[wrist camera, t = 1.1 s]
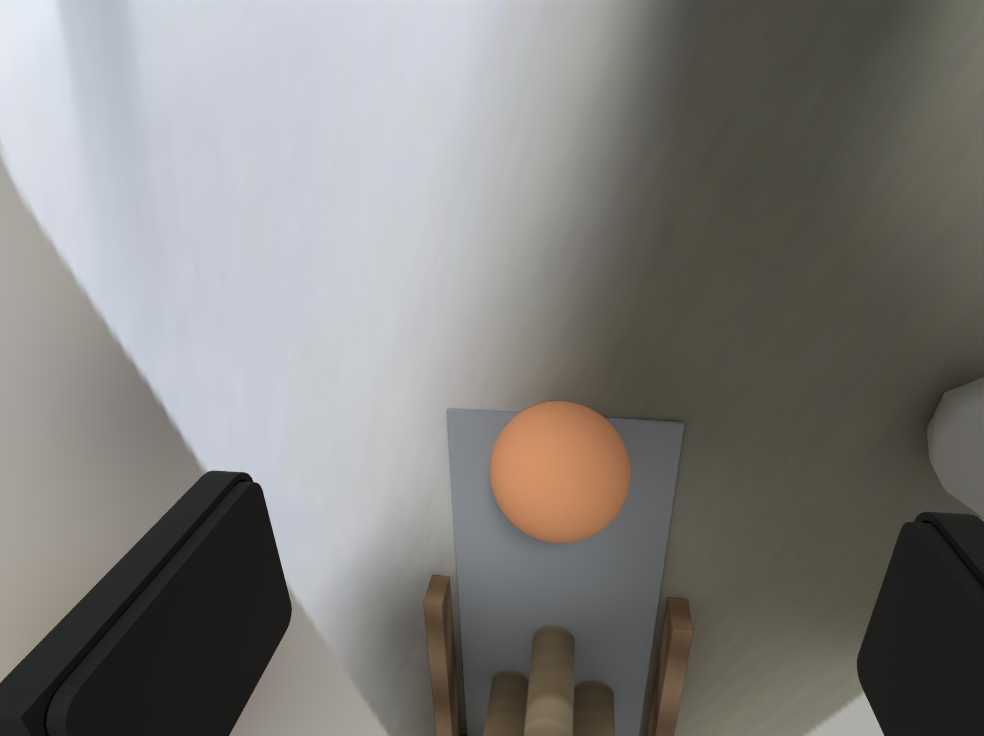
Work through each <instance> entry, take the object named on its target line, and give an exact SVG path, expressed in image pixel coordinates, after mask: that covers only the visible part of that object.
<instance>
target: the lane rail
mask: <svg viewBox="0 0 984 736" xmlns="http://www.w3.org/2000/svg"><path fill="white" fill-rule="evenodd" d="M423 604H424V614H425V624H426V634H427V644H428V654H429V664H430V674H431V684H432V694H433V703H434V713H435V723H436V733H437V736H467V735H461V733H460V719H459V705H458V691H457V677H456V663H455V649H454V635H453V621H452V607H451V593H450V579H449V577H447V576H437V575H432V577H431V580H430V583H429V587H428V590H427V593H426V596H425V599H424V603H423ZM692 636H693V626H692V621H691V616H690V611H689V606H688V600H686V599H676V598H668V601H667V608H666V614H665V621H664V627H663V634H662V640H661V646H660V653H659V659H658V666H657V672H656V679H655V685H654V691H653V698H652V704H651V711H650V717H649V724H648V730H647V736H674V731H675V726H676V721H677V715H678V710H679V705H680V700H681V694H682V689H683V684H684V678H685V673H686V668H687V662H688V657H689V652H690V647H691V641H692Z"/></svg>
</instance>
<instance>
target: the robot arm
mask: <svg viewBox="0 0 984 736" xmlns="http://www.w3.org/2000/svg"><path fill="white" fill-rule="evenodd" d="M291 612H292V607H291V601H290V598H289V593H288V589H287V585H286V581H285V578H284V574H283V570H282V566H281V562H280V558H279V554H278V550H277V546H276V542H275V538H274V534H273V530H272V526H271V522H270V518H269V514H268V510H267V506H266V502H265V498H264V495H263V491H262V488H261V486H260V485H259V484H258V483H255V482H253V480H252V477H251V476H250V475H249V474H247V473H244V472H228V471H209V472H207V473H206V474H204V475H203V476H202V477H201V478H200V479H199V480H198V481H197V482H196V483H195V484H194V485H193V486H192V487H191V488H190V489H189V490H188V491H187V492H186V493H185V494H184V495H183V496H182V497H181V499H179V500H178V501H177V503H176V504H175V505H174V506H173V507H172V508H171V509H170V510H169V511H168V512H167V513H166V514H165V515H164V516H163V517H162V518H161V519H160V520H159V521H158V522H157V523H156V524H155V525H154V526H153V527H152V528H151V529H150V530H149V531H148V532H147V533H146V534H145V535H144V536H143V537H142V538H141V539H140V541H138V542H137V543H136V544H135V545H134V547H133V548H132V549H131V550H130V551H129V552H128V553H127V554H126V555H125V556H124V557H123V558H122V559H121V560H120V561H119V562H118V563H117V564H116V565H115V566H114V567H113V568H112V569H111V570H110V571H109V572H108V573H107V574H106V575H105V576H104V577H103V578H102V579H101V580H100V581H99V582H98V583H97V584H96V585H95V586H94V587H93V589H91V591H90V592H89V593H88V594H87V595H86V596H85V597H84V598H83V599H82V600H81V601H80V602H79V603H78V604H77V605H76V606H75V607H74V608H73V609H72V610H71V611H70V612H69V613H68V614H67V615H66V616H65V617H64V618H63V619H62V620H61V621H60V622H59V623H58V624H57V626H55V627H54V628H53V629H52V631H50V632H49V634H48V635H47V636H46V637H45V638H44V639H43V640H42V641H41V642H40V643H39V644H38V645H37V646H36V647H35V648H34V649H33V650H32V651H31V652H30V653H29V654H28V655H27V656H26V657H25V658H24V659H23V660H22V661H21V662H20V663H19V664H18V665H17V666H16V667H15V668H14V669H13V670H12V672H11V673H10V674H8V676H7V677H6V678H5V679H4V680H3V681H2V682H1V683H0V736H229V735H230V733H231V731H232V729H233V727H234V726H235V724H236V722H237V720H238V718H239V716H240V715H241V713H242V711H243V709H244V707H245V705H246V704H247V702H248V700H249V698H250V696H251V694H252V693H253V691H254V689H255V687H256V685H257V683H258V682H259V680H260V678H261V676H262V674H263V672H264V670H265V669H266V667H267V665H268V663H269V661H270V660H271V658H272V656H273V654H274V652H275V650H276V649H277V646H278V645H279V643H280V641H281V639H282V638H283V636H284V634H285V632H286V630H287V628H288V626H289V622H290V619H291ZM857 670H858V676H859V680H860V683H861V686H862V688H863V690H864V692H865V695H866V697H867V699H868V701H869V703H870V705H871V707H872V710H873V712H874V714H875V716H876V718H877V720H878V723H879V725H880V727H881V729H882V731H883V733H884V736H984V522H983V521H982V520H981V519H979V518H978V517H976V516H973V515H970V514H953V513H936V512H924V513H920V514H919V515H918V516H917V517H916V519H915V521H914V522H907V523H905V524H904V525H903V527H902V529H901V531H900V534H899V536H898V539H897V542H896V545H895V548H894V551H893V554H892V557H891V560H890V563H889V566H888V569H887V572H886V575H885V578H884V581H883V584H882V586H881V589H880V592H879V595H878V598H877V601H876V604H875V607H874V610H873V613H872V616H871V619H870V622H869V625H868V628H867V631H866V633H865V636H864V639H863V642H862V645H861V648H860V651H859V654H858V658H857Z"/></svg>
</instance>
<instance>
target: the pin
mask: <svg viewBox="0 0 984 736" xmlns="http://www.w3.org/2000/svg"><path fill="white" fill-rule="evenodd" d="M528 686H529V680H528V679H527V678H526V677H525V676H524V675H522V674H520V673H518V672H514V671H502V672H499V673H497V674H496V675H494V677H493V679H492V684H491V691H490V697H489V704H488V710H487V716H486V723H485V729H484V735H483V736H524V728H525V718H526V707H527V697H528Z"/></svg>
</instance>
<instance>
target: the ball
mask: <svg viewBox="0 0 984 736" xmlns="http://www.w3.org/2000/svg"><path fill="white" fill-rule="evenodd" d="M489 473H490V483H491V487H492V491H493V494H494V497H495V500H496V502H497V504H498V506H499V507H500V509H501V511H502V512H503V514H504V515H505V516H506V518H507V519H508V520H509V521H510V522H511V523H512V524H513V525H514V526H515V527H517V528H518V529H519V530H521V531H522V532H524V533H525V534H527V535H529V536H531V537H533V538H536V539H539V540H541V541H545V542H550V543H572V542H578V541H581V540H585V539H587V538H590V537H592V536H594V535H595V534H597V533H599V532H600V531H602V530H603V529H604V528H606V527H607V526H608V525H609V524H610V523H611V522H612V521H613V520H614V519H615V517H616V516H617V515H618V513H619V512H620V510H621V508H622V507H623V505H624V502H625V500H626V497H627V495H628V491H629V486H630V474H631V468H630V461H629V456H628V453H627V450H626V447H625V445H624V443H623V441H622V439H621V437H620V435H619V434H618V432H617V431H616V429H615V428H614V427H613V426H612V425H611V424H610V423H609V421H608V420H606V419H605V418H604V417H603V416H602V415H600V414H599V413H597V412H596V411H594V410H592V409H590V408H588V407H586V406H583V405H580V404H577V403H573V402H567V401H551V402H544V403H540V404H537V405H534V406H532V407H529V408H527V409H525V410H524V411H522V412H520V413H519V414H518V415H516V416H515V417H514V418H513V419H512V420H511V421H510V422H508V424H507V425H506V426H505V427H504V429H503V430H502V431H501V433H500V435H499V436H498V438H497V440H496V442H495V445H494V448H493V450H492V454H491V459H490V469H489Z"/></svg>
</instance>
